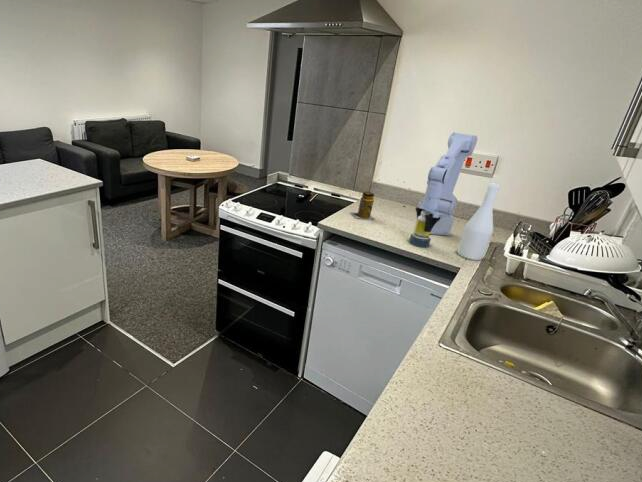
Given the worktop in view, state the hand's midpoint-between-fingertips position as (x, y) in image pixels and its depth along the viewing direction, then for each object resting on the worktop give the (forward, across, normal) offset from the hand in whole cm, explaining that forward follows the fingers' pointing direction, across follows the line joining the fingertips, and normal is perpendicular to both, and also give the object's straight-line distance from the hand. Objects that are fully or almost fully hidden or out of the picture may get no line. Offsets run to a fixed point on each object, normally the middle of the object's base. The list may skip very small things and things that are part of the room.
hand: (423, 228), depth 163 cm
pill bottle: (+4, 0, 0) cm, 4 cm away
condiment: (+7, -30, -16) cm, 35 cm away
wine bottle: (+7, +9, +17) cm, 21 cm away
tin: (+7, 0, 0) cm, 7 cm away
